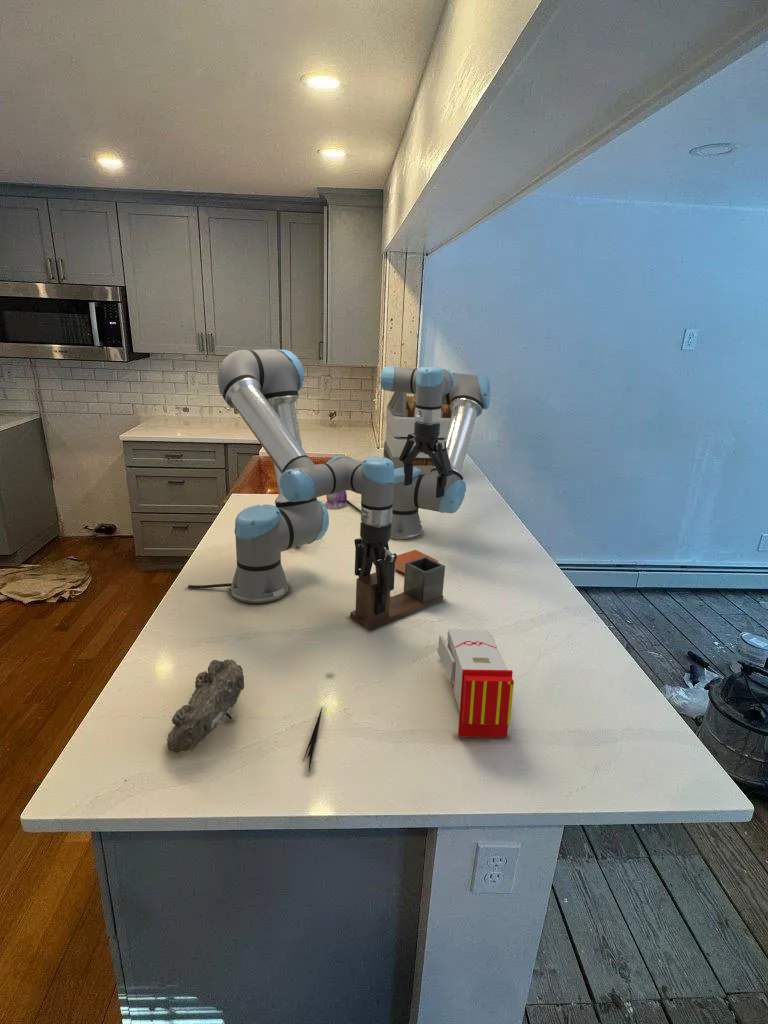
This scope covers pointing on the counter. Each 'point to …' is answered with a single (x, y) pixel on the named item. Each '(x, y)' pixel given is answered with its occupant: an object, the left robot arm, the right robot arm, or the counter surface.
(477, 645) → the toy
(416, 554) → the glossy orange tile
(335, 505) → the figurine
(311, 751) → the feather
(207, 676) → the fossil
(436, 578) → the brown wooden desk organizer
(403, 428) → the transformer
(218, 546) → the counter surface
